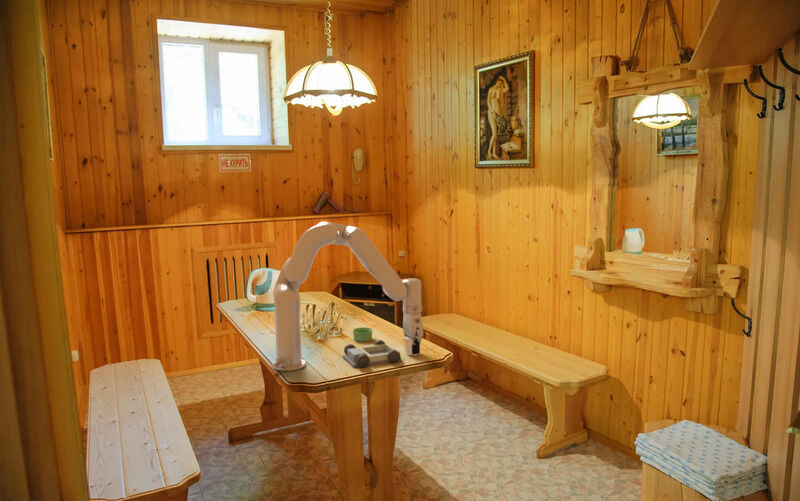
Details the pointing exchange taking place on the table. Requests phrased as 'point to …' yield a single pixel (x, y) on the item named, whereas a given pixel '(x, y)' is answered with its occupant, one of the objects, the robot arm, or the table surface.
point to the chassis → (371, 354)
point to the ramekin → (362, 334)
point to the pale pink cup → (409, 345)
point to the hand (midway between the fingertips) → (412, 350)
